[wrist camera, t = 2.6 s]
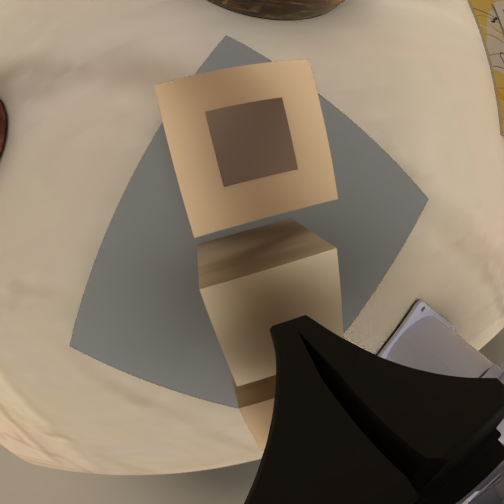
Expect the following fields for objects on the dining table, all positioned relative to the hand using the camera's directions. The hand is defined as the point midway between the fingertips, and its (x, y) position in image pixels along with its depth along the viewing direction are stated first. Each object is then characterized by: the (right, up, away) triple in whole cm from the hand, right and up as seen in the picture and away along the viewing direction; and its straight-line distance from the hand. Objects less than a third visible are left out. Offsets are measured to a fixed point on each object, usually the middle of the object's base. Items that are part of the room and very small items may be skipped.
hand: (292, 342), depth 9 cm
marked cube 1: (-2, +8, +3) cm, 9 cm away
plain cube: (-1, +2, +6) cm, 6 cm away
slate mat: (-1, +2, +6) cm, 7 cm away
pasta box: (+28, +25, +5) cm, 37 cm away
